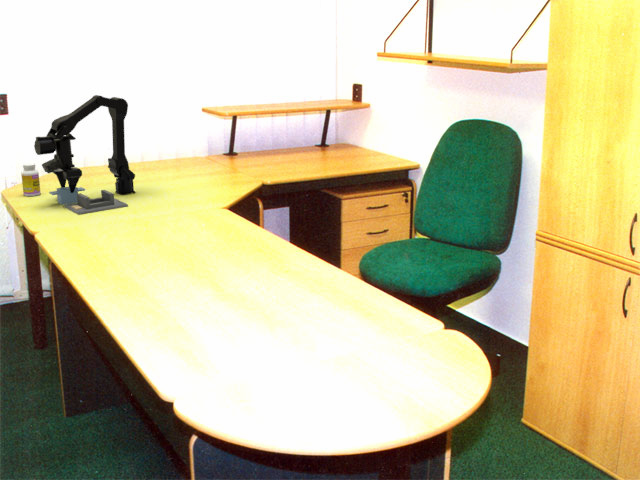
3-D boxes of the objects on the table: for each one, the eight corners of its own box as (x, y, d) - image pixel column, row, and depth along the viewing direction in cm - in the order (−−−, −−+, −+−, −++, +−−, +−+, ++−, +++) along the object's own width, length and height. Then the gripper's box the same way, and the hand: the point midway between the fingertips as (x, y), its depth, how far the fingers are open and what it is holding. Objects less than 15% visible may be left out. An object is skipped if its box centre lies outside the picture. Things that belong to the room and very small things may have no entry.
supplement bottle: (34, 197, 293) (31, 166, 289) (20, 196, 294) (16, 165, 290) (44, 193, 299) (40, 163, 295) (29, 192, 301) (26, 162, 297)
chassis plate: (112, 199, 292) (111, 186, 290) (128, 206, 281) (127, 193, 280) (64, 207, 279) (63, 194, 278) (78, 214, 269) (77, 201, 267)
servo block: (82, 199, 291) (80, 184, 290) (86, 201, 289) (84, 186, 287) (50, 204, 283) (48, 189, 282) (54, 206, 281) (52, 191, 279)
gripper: (34, 150, 282) (38, 189, 286) (52, 158, 268) (56, 198, 273) (62, 147, 288) (66, 185, 293) (80, 154, 275) (84, 194, 280)
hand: (67, 190), depth 285 cm, fingers open, 9 cm apart
